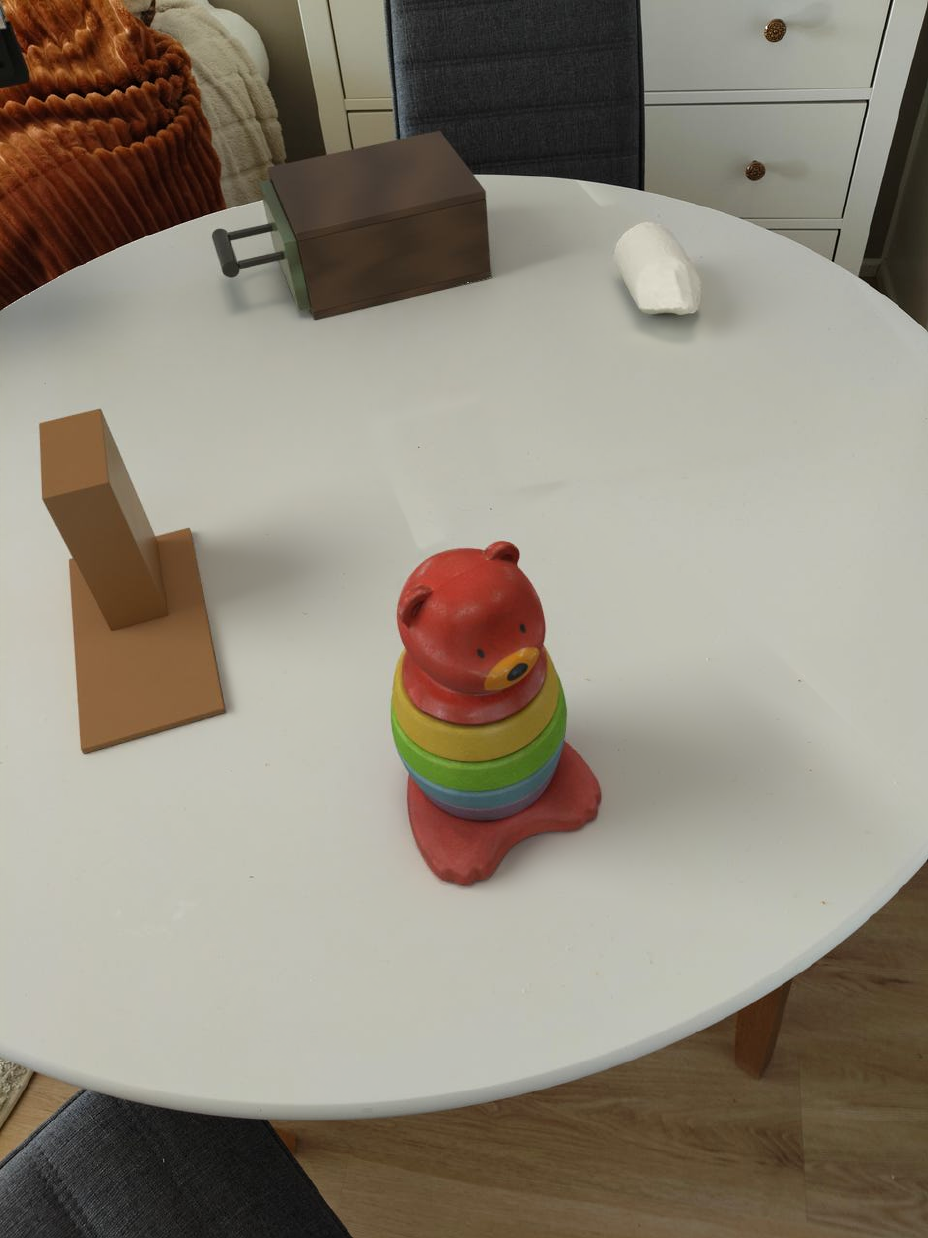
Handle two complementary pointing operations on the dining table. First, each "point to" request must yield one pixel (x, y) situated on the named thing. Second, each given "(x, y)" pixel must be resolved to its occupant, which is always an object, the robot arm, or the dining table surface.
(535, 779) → the stacking bear
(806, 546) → the dining table surface
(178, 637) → the mat
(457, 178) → the cabinet
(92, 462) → the upright tan wooden block
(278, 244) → the drawer
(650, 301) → the roll
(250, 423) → the dining table surface
